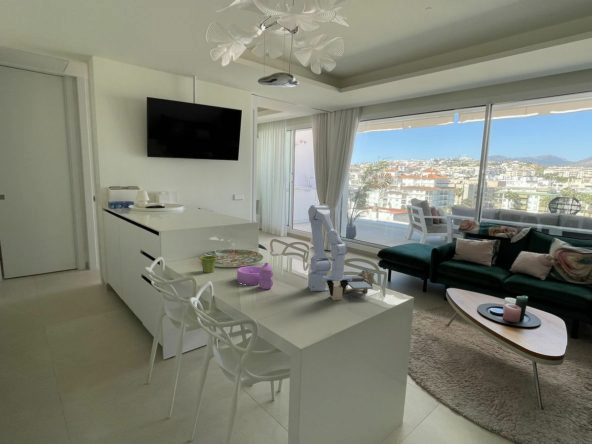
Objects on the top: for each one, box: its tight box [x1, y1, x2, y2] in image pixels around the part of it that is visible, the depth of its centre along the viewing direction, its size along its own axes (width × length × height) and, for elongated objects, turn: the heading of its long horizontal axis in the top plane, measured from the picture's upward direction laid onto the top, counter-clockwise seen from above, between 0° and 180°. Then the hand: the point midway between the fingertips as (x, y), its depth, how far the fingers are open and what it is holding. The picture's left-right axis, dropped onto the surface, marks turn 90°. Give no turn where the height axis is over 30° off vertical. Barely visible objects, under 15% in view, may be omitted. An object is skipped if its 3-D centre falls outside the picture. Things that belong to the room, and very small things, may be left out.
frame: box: [343, 279, 369, 294], centre depth 168 cm, size 13×5×7 cm, turn 101°
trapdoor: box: [347, 275, 373, 290], centre depth 164 cm, size 10×14×4 cm
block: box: [329, 284, 343, 301], centre depth 158 cm, size 4×4×6 cm
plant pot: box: [199, 255, 218, 274], centre depth 192 cm, size 9×9×9 cm
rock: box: [357, 269, 375, 287], centre depth 179 cm, size 12×7×10 cm, turn 122°
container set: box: [236, 262, 274, 290], centre depth 174 cm, size 25×15×13 cm, turn 41°
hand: (336, 295), depth 158 cm, fingers closed on block, 4 cm apart
